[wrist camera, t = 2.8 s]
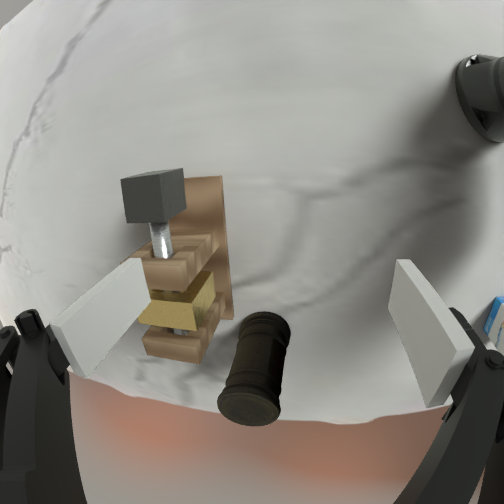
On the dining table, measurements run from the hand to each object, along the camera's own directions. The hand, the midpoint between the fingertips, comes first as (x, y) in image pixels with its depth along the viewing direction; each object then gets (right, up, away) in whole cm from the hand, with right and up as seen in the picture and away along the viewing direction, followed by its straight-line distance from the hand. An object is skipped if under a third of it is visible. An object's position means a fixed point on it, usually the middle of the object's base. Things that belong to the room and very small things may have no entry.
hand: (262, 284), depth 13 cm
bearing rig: (-9, +2, +30) cm, 32 cm away
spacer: (-10, -3, +26) cm, 28 cm away
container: (+2, -12, +34) cm, 37 cm away
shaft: (-11, 0, +23) cm, 25 cm away
